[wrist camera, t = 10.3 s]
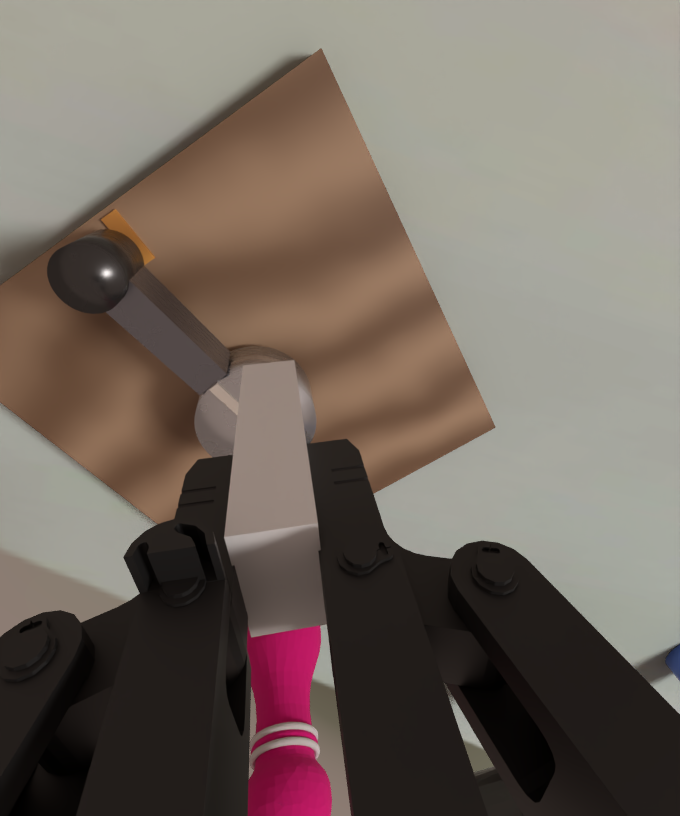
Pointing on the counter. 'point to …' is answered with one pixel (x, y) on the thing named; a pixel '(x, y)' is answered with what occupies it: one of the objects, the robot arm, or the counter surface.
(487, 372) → the counter surface
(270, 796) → the pepper mill
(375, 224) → the wooden cutting board
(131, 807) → the robot arm
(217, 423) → the dark grey dumbbell shape
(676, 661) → the water bottle
